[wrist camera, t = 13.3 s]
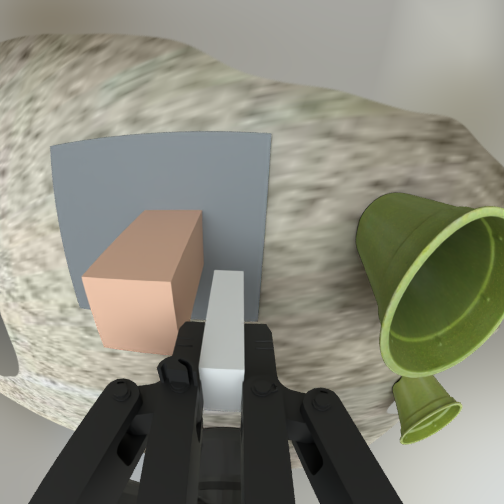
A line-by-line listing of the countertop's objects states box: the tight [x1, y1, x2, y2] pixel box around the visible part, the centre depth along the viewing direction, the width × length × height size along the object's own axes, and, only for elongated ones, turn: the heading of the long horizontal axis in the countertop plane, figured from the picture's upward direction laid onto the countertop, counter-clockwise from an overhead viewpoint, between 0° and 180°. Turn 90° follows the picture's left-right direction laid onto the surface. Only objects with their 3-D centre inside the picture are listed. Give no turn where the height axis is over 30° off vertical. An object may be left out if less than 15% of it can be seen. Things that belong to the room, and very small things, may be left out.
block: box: [82, 210, 204, 355], centre depth 17 cm, size 4×4×10 cm
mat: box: [50, 131, 271, 322], centre depth 21 cm, size 16×18×1 cm
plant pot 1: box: [356, 193, 504, 378], centre depth 17 cm, size 12×12×11 cm
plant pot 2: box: [393, 375, 462, 444], centre depth 28 cm, size 9×9×9 cm
